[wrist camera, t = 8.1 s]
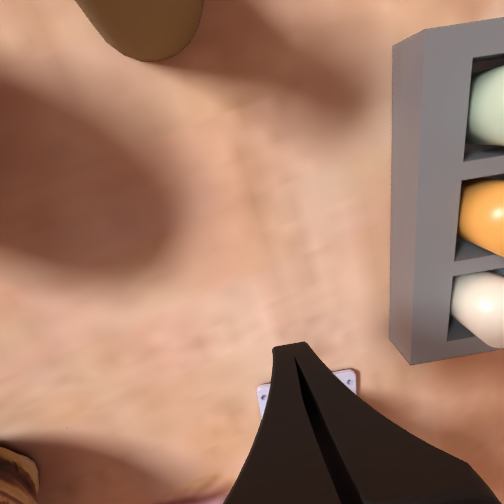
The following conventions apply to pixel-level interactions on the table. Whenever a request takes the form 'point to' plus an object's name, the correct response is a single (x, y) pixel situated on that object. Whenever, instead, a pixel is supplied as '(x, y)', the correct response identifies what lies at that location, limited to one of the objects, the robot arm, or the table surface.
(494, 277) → the cream egg
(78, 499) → the table surface
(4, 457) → the ceramic jug
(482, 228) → the orange rounded blob
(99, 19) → the cork
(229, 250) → the table surface
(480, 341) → the grey compartment tray
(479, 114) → the pale green rounded blob
